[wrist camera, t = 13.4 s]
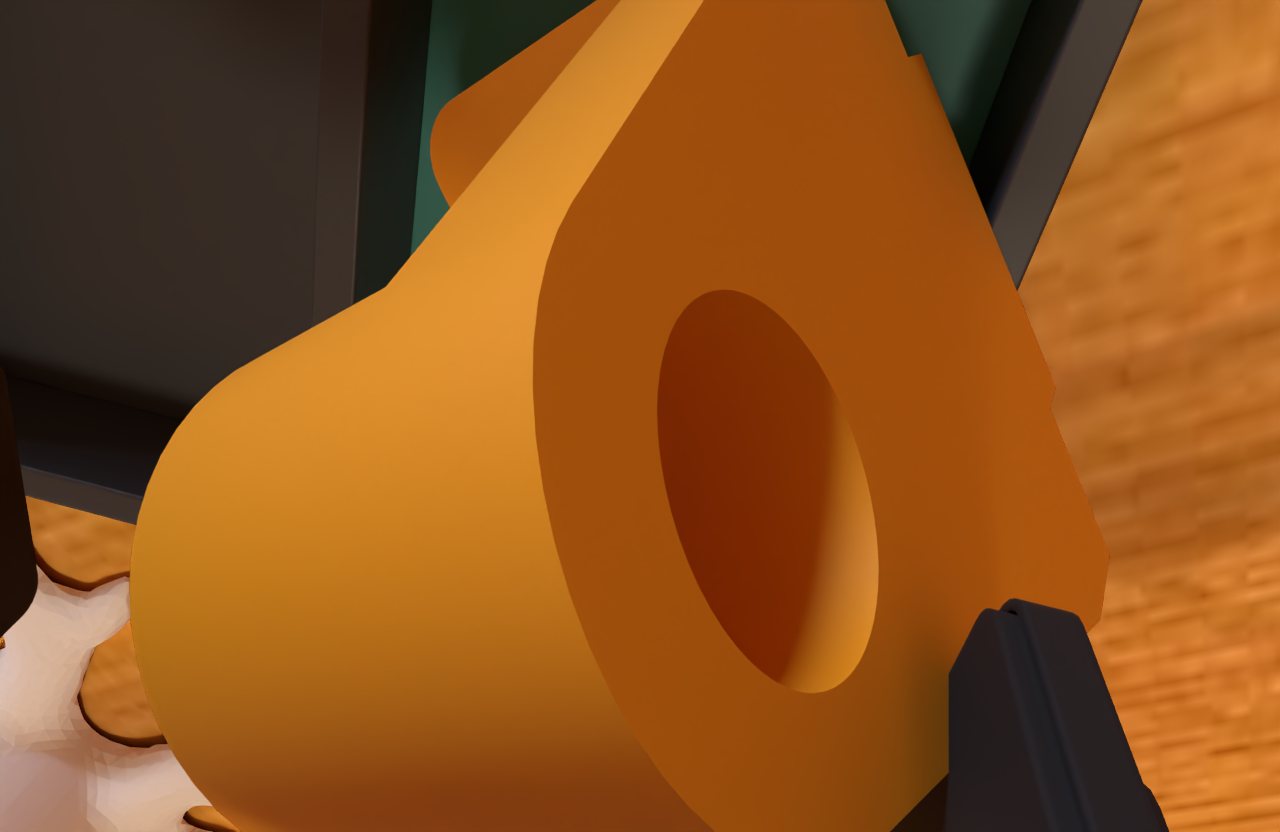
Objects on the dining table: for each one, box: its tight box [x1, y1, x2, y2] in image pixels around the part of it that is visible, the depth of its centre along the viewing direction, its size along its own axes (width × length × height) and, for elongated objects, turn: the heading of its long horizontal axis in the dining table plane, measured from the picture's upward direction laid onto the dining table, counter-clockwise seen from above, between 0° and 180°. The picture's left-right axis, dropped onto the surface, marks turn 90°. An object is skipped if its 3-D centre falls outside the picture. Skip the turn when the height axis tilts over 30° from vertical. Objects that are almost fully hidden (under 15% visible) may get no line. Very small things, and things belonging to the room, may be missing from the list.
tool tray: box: [0, 0, 1143, 525], centre depth 18 cm, size 22×16×4 cm
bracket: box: [129, 0, 1110, 832], centre depth 12 cm, size 11×7×12 cm, turn 28°
